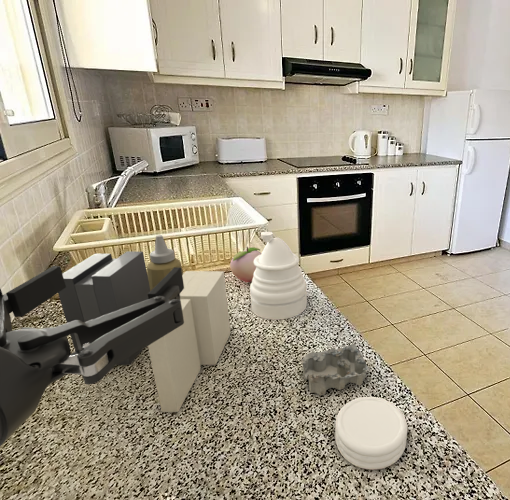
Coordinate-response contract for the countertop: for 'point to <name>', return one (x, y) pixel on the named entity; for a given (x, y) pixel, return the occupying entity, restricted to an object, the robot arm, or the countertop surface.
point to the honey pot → (277, 282)
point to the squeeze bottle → (161, 262)
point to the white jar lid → (371, 432)
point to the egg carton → (334, 369)
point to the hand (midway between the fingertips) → (120, 277)
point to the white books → (208, 312)
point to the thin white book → (176, 362)
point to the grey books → (104, 288)
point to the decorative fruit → (244, 264)
